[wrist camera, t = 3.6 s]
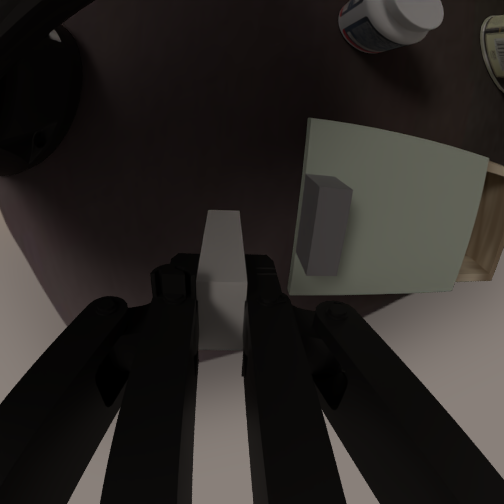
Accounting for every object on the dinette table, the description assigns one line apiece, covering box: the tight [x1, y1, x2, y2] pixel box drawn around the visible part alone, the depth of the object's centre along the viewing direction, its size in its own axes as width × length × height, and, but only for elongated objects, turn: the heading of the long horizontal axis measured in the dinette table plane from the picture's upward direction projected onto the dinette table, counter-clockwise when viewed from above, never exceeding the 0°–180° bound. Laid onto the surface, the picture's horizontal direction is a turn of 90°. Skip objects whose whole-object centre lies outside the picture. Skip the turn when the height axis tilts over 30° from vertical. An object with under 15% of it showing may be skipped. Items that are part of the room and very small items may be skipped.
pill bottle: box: [338, 0, 444, 53], centre depth 16 cm, size 5×5×9 cm
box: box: [455, 161, 504, 282], centre depth 24 cm, size 14×11×7 cm
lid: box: [287, 118, 489, 295], centre depth 18 cm, size 15×12×4 cm
